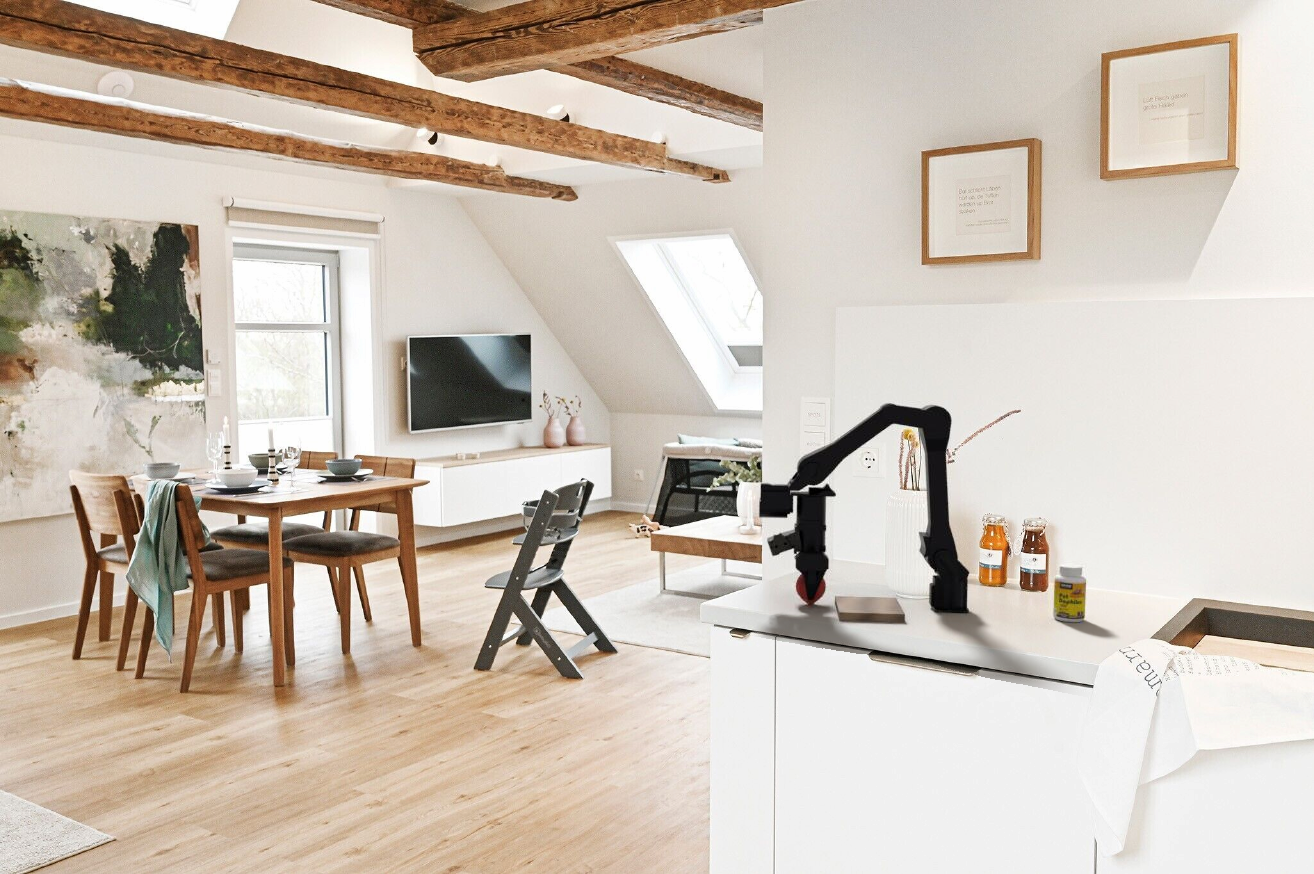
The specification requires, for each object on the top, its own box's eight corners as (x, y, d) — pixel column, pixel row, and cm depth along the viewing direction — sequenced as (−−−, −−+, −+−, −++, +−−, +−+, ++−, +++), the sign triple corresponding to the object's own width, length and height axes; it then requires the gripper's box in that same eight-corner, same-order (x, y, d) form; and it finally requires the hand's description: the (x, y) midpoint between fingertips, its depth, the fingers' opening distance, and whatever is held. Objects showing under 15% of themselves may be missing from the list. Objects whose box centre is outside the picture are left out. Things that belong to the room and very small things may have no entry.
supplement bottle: (1053, 621, 201) (1055, 567, 200) (1052, 615, 206) (1054, 562, 205) (1086, 624, 199) (1087, 569, 198) (1083, 617, 205) (1085, 564, 204)
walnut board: (895, 605, 214) (896, 597, 214) (904, 622, 200) (904, 614, 200) (834, 603, 215) (834, 595, 215) (839, 620, 201) (839, 612, 201)
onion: (816, 609, 210) (816, 569, 209) (790, 605, 213) (790, 565, 212) (830, 604, 214) (831, 564, 214) (804, 600, 218) (805, 561, 217)
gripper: (769, 511, 222) (768, 585, 224) (769, 524, 204) (768, 606, 205) (824, 512, 221) (823, 587, 222) (829, 526, 203) (828, 608, 204)
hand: (809, 596), depth 213 cm, fingers closed on onion, 6 cm apart
